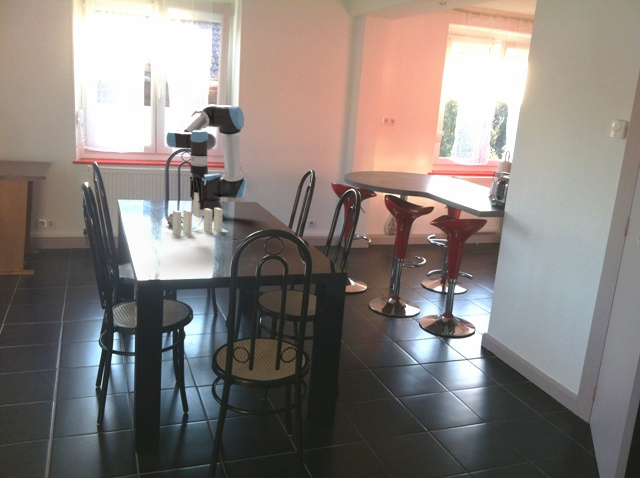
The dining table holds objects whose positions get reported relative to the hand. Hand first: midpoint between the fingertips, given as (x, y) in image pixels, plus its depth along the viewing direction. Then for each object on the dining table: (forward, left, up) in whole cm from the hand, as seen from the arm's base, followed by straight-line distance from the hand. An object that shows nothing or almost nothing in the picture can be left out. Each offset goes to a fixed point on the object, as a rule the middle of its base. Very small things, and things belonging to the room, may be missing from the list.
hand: (198, 214), depth 275 cm
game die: (-1, -28, -12) cm, 30 cm away
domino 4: (-11, -12, -11) cm, 20 cm away
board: (-6, -12, -12) cm, 18 cm away
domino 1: (+5, -12, -11) cm, 17 cm away
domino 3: (0, 0, -1) cm, 1 cm away
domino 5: (-17, -12, -11) cm, 23 cm away
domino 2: (0, -12, -11) cm, 16 cm away
